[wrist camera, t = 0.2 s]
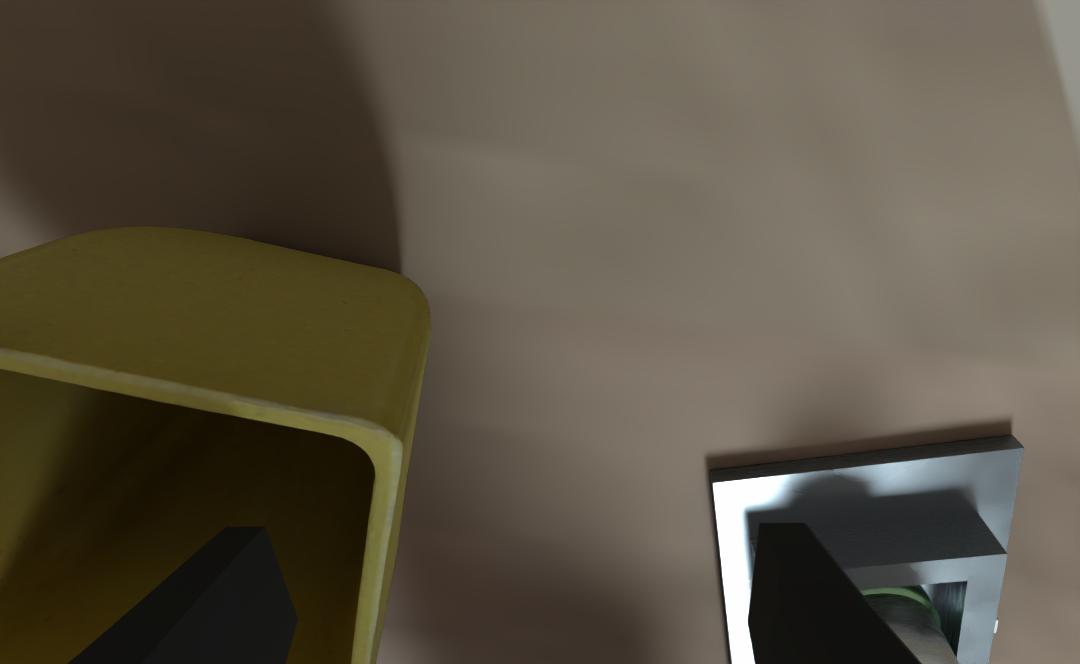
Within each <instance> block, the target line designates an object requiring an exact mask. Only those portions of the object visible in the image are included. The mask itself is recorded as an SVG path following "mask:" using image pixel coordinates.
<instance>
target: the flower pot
mask: <svg viewBox="0 0 1080 664" xmlns="http://www.w3.org/2000/svg"><path fill="white" fill-rule="evenodd" d="M430 331H431V317H430V310H429V306H428V302H427V299H426V297H425V295H424V294H423V292H422V291H421V289H420V288H419V287H418V286H417V285H416V284H415V283H414V282H412V281H411V280H410V279H408V278H407V277H405V276H403V275H400V274H398V273H395V272H393V271H390V270H386V269H383V268H378V267H372V266H367V265H363V264H358V263H353V262H349V261H344V260H340V259H335V258H330V257H326V256H321V255H316V254H312V253H307V252H303V251H298V250H294V249H289V248H285V247H281V246H276V245H272V244H267V243H263V242H258V241H254V240H250V239H246V238H241V237H235V236H229V235H224V234H218V233H213V232H208V231H200V230H193V229H185V228H174V227H153V226H134V227H120V228H109V229H101V230H95V231H90V232H85V233H81V234H76V235H72V236H69V237H65V238H62V239H59V240H55V241H52V242H49V243H46V244H43V245H40V246H37V247H34V248H31V249H27V250H24V251H21V252H18V253H15V254H12V255H9V256H6V257H3V258H0V664H67V663H68V662H70V661H71V660H72V659H73V658H75V657H76V656H77V655H78V654H79V653H81V652H82V651H83V650H84V649H85V648H87V647H88V646H89V645H90V644H91V643H92V642H94V641H95V640H96V639H97V638H98V637H99V636H101V635H102V634H103V633H104V632H105V631H106V630H107V629H109V628H110V627H111V626H112V625H113V624H114V623H116V622H117V621H118V620H119V619H120V618H121V617H122V616H124V615H125V614H126V613H127V612H128V611H129V610H131V609H132V608H133V607H134V606H135V605H136V604H138V603H139V602H140V601H141V600H142V599H143V598H144V597H146V596H147V595H148V594H149V593H150V592H151V591H152V590H154V589H155V588H156V587H157V586H158V585H159V584H160V583H161V582H163V581H164V580H165V579H166V578H167V577H168V576H169V575H171V574H172V573H173V572H174V571H175V570H176V569H177V568H178V567H180V566H181V565H182V564H183V563H184V562H185V561H186V560H188V559H189V558H190V557H191V556H192V555H193V554H194V553H196V552H197V551H198V550H199V549H200V548H201V547H203V546H204V545H205V544H206V543H207V542H208V541H210V540H211V539H212V538H213V537H214V536H216V535H217V534H218V533H219V532H220V531H222V530H223V529H224V528H225V527H263V526H265V528H266V530H267V533H268V536H269V539H270V542H271V544H272V547H273V550H274V553H275V556H276V558H277V561H278V564H279V567H280V570H281V573H282V575H283V578H284V581H285V584H286V587H287V589H288V592H289V595H290V598H291V601H292V603H293V606H294V609H295V612H296V615H297V617H298V622H297V625H296V629H295V632H294V636H293V639H292V643H291V646H290V650H289V653H288V657H287V660H286V663H285V664H376V660H377V655H378V649H379V644H380V639H381V634H382V628H383V623H384V618H385V612H386V607H387V602H388V596H389V591H390V586H391V581H392V576H393V571H394V566H395V561H396V555H397V549H398V544H399V534H400V526H401V518H402V510H403V502H404V495H405V488H406V481H407V475H408V468H409V462H410V456H411V450H412V444H413V437H414V431H415V425H416V418H417V412H418V406H419V401H420V395H421V388H422V382H423V376H424V370H425V365H426V359H427V354H428V348H429V341H430Z"/></svg>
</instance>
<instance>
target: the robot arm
mask: <svg viewBox="0 0 1080 664" xmlns="http://www.w3.org/2000/svg"><path fill="white" fill-rule="evenodd" d="M297 622H298V617H297V615H296V612H295V609H294V606H293V603H292V601H291V598H290V595H289V592H288V589H287V587H286V584H285V581H284V578H283V575H282V573H281V570H280V567H279V564H278V561H277V558H276V556H275V553H274V550H273V547H272V544H271V542H270V539H269V536H268V533H267V530H266V528H265V526H263V527H225V528H224V529H223V530H222V531H220V532H219V533H218V534H217V535H216V536H214V537H213V538H212V539H211V540H210V541H208V542H207V543H206V544H205V545H204V546H203V547H201V548H200V549H199V550H198V551H197V552H196V553H194V554H193V555H192V556H191V557H190V558H189V559H188V560H186V561H185V562H184V563H183V564H182V565H181V566H180V567H178V568H177V569H176V570H175V571H174V572H173V573H172V574H171V575H169V576H168V577H167V578H166V579H165V580H164V581H163V582H161V583H160V584H159V585H158V586H157V587H156V588H155V589H154V590H152V591H151V592H150V593H149V594H148V595H147V596H146V597H144V598H143V599H142V600H141V601H140V602H139V603H138V604H136V605H135V606H134V607H133V608H132V609H131V610H129V611H128V612H127V613H126V614H125V615H124V616H122V617H121V618H120V619H119V620H118V621H117V622H116V623H114V624H113V625H112V626H111V627H110V628H109V629H107V630H106V631H105V632H104V633H103V634H102V635H101V636H99V637H98V638H97V639H96V640H95V641H94V642H92V643H91V644H90V645H89V646H88V647H87V648H85V649H84V650H83V651H82V652H81V653H79V654H78V655H77V656H76V657H75V658H73V659H72V660H71V661H70V662H68V663H67V664H285V663H286V660H287V657H288V653H289V650H290V646H291V643H292V639H293V636H294V632H295V629H296V625H297ZM747 622H748V627H749V633H750V638H751V644H752V650H753V655H754V661H755V664H922V663H921V662H920V661H919V660H918V658H917V657H916V656H915V655H914V654H913V653H912V652H911V651H910V649H909V648H908V647H907V646H906V645H905V644H904V643H903V641H902V640H901V639H900V638H899V637H898V636H897V635H896V633H895V632H894V631H893V630H892V629H891V628H890V626H889V625H888V624H887V623H886V622H885V621H884V619H883V618H882V617H881V616H880V615H879V613H878V612H877V611H876V610H875V609H874V607H873V606H872V605H871V604H870V603H869V601H868V600H867V599H866V598H865V596H864V595H863V594H862V593H861V592H860V590H859V589H858V588H857V587H856V586H855V584H854V583H853V582H852V581H851V579H850V578H849V577H848V576H847V574H846V573H845V572H844V571H843V569H842V568H841V567H840V566H839V564H838V563H837V562H836V560H835V559H834V558H833V557H832V555H831V554H830V553H829V551H828V550H827V549H826V548H825V546H824V545H823V544H822V542H821V541H820V540H819V539H818V537H817V536H816V535H815V533H814V532H813V531H812V529H811V528H810V527H808V526H807V525H806V524H805V523H759V530H758V538H757V547H756V555H755V563H754V572H753V580H752V588H751V597H750V605H749V613H748V621H747Z"/></svg>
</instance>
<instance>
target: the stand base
mask: <svg viewBox="0 0 1080 664" xmlns="http://www.w3.org/2000/svg"><path fill="white" fill-rule="evenodd" d="M1023 453H1024V447H1023V446H1022V445H1021V444H1020V442H1019V441H1018V440H1017V439H1016V438H1015V437H1014V436H1013V435H1010V436H1002V437H993V438H985V439H976V440H968V441H959V442H950V443H942V444H933V445H925V446H916V447H908V448H899V449H890V450H882V451H873V452H865V453H856V454H848V455H839V456H831V457H822V458H813V459H805V460H796V461H788V462H779V463H771V464H762V465H753V466H745V467H736V468H728V469H719V470H711V471H710V477H711V486H712V496H713V505H714V514H715V523H716V533H717V542H718V551H719V561H720V570H721V579H722V589H723V598H724V607H725V616H726V626H727V635H728V644H729V654H730V663H731V664H755V661H754V655H753V650H752V644H751V638H750V633H749V627H748V622H747V621H748V613H749V605H750V597H751V588H752V580H753V572H754V563H755V555H756V547H757V538H758V530H759V523H805V524H806V525H807V526H808V527H810V528H811V529H812V531H813V532H814V533H815V535H816V536H817V537H818V539H819V540H820V541H821V542H822V544H823V545H824V546H825V548H826V549H827V550H828V551H829V553H830V554H831V555H832V557H833V558H834V559H835V560H836V562H837V563H838V564H839V566H840V567H841V568H842V569H843V571H844V572H845V573H846V574H847V576H848V577H849V578H850V579H851V581H852V582H853V583H854V584H855V586H856V587H857V588H858V589H859V590H867V589H879V588H890V587H902V586H913V585H921V586H922V587H923V588H924V590H925V591H926V593H927V595H928V596H929V598H930V600H931V602H932V604H933V605H934V607H935V609H936V611H937V613H938V615H939V618H940V622H941V623H940V629H941V630H942V632H943V634H944V636H945V638H946V640H947V642H948V643H949V645H950V647H951V649H952V651H953V653H954V654H955V656H956V658H957V660H958V662H959V664H988V662H989V657H990V651H991V645H992V640H993V634H994V633H996V630H997V624H998V619H997V611H998V606H999V600H1000V594H1001V589H1002V583H1003V577H1004V572H1005V566H1006V560H1007V555H1008V554H1007V552H1006V551H1007V545H1008V539H1009V533H1010V528H1011V522H1012V516H1013V511H1014V505H1015V499H1016V493H1017V488H1018V482H1019V476H1020V471H1021V465H1022V459H1023Z"/></svg>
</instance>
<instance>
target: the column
mask: <svg viewBox="0 0 1080 664" xmlns="http://www.w3.org/2000/svg"><path fill="white" fill-rule="evenodd" d="M860 592H861V593H862V594H863V595H864V596H865V598H866V599H867V600H868V601H869V603H870V604H871V605H872V606H873V607H874V609H875V610H876V611H877V612H878V613H879V615H880V616H881V617H882V618H883V619H884V621H885V622H886V623H887V624H888V625H889V626H890V628H891V629H892V630H893V631H894V632H895V633H896V635H897V636H898V637H899V638H900V639H901V640H902V641H903V643H904V644H905V645H906V646H907V647H908V648H909V649H910V651H911V652H912V653H913V654H914V655H915V656H916V657H917V658H918V660H919V661H920V662H921V663H922V664H959V662H958V660H957V658H956V656H955V654H954V653H953V651H952V649H951V647H950V645H949V643H948V642H947V640H946V638H945V636H944V634H943V632H942V630H941V629H940V623H941V622H940V618H939V615H938V613H937V611H936V609H935V607H934V605H933V604H932V602H931V600H930V598H929V596H928V595H927V593H926V591H925V590H924V588H923V587H922V586H921V585H913V586H902V587H890V588H879V589H867V590H860Z"/></svg>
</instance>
